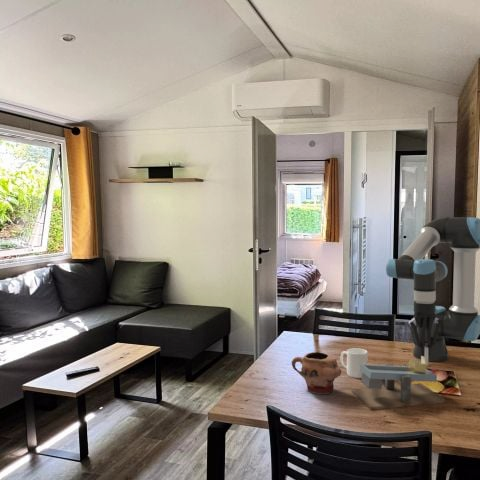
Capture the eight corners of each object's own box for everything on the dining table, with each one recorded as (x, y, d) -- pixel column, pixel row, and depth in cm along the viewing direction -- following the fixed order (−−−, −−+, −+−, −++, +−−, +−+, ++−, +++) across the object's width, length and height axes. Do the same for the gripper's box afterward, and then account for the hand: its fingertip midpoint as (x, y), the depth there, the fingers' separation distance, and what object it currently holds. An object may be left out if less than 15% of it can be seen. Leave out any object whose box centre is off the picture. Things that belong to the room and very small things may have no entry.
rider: (418, 372, 180) (419, 360, 180) (424, 376, 176) (426, 364, 175) (407, 371, 179) (408, 359, 179) (413, 375, 175) (415, 363, 175)
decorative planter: (286, 391, 184) (285, 356, 182) (296, 380, 195) (295, 347, 193) (337, 400, 175) (337, 363, 174) (345, 388, 186) (345, 353, 185)
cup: (361, 379, 194) (361, 355, 193) (335, 373, 202) (335, 349, 202) (370, 374, 200) (371, 350, 200) (345, 367, 208) (345, 345, 208)
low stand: (421, 385, 187) (421, 360, 187) (445, 402, 172) (446, 375, 171) (351, 391, 182) (351, 366, 181) (370, 409, 167) (370, 381, 166)
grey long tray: (420, 383, 184) (423, 367, 183) (435, 392, 174) (437, 375, 174) (358, 380, 179) (360, 363, 178) (369, 390, 169) (371, 372, 169)
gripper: (434, 298, 181) (434, 359, 183) (403, 300, 178) (403, 362, 180) (446, 302, 173) (446, 365, 175) (414, 304, 171) (414, 369, 173)
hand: (424, 364), depth 178 cm, fingers closed
